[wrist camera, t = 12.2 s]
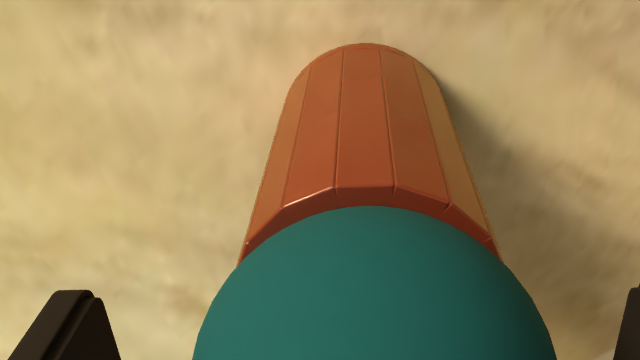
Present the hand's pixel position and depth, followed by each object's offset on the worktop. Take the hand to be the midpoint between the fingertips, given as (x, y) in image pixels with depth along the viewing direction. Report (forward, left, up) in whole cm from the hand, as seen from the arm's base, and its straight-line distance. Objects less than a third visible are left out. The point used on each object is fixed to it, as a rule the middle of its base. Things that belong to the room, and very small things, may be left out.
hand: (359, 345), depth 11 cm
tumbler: (0, 0, -10) cm, 10 cm away
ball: (0, 0, -2) cm, 2 cm away
